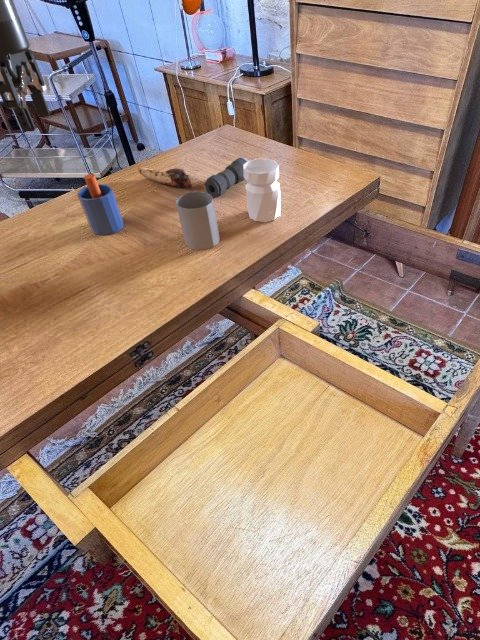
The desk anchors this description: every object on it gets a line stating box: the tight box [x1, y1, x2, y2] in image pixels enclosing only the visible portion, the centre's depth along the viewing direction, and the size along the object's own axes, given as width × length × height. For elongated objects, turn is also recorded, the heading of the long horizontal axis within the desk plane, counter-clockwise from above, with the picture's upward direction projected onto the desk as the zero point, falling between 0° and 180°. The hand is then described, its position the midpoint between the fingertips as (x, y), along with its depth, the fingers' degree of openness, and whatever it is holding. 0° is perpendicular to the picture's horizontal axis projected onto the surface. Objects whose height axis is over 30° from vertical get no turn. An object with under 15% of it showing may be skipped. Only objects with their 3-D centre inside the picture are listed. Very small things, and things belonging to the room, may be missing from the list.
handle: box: [83, 173, 102, 199], centre depth 107 cm, size 3×3×12 cm
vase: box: [243, 158, 282, 223], centre depth 111 cm, size 9×9×12 cm
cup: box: [175, 190, 221, 251], centre depth 104 cm, size 8×8×10 cm
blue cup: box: [76, 183, 125, 236], centre depth 109 cm, size 8×8×9 cm
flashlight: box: [204, 156, 249, 198], centre depth 123 cm, size 15×5×5 cm, turn 149°
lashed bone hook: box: [138, 166, 193, 188], centre depth 127 cm, size 9×5×18 cm
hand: (37, 122), depth 88 cm, fingers open, 8 cm apart
